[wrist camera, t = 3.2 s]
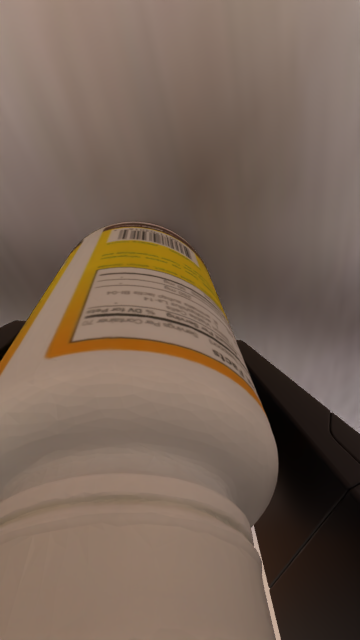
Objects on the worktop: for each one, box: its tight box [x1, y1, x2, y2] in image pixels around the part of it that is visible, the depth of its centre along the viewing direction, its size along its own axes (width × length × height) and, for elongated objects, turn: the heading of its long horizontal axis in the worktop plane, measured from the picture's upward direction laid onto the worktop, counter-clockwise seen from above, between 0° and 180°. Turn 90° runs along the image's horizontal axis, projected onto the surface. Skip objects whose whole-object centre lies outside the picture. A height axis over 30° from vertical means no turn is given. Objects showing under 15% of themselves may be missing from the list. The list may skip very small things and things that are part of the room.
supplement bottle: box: [0, 222, 278, 640], centre depth 8 cm, size 6×6×10 cm
